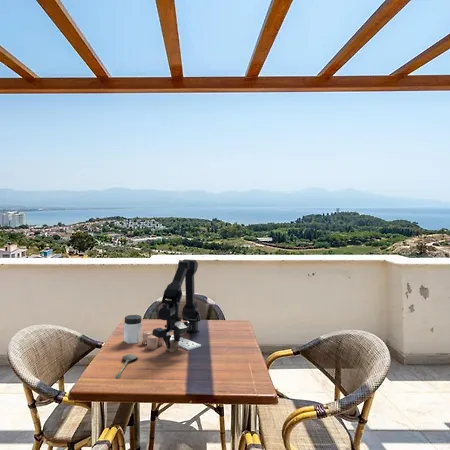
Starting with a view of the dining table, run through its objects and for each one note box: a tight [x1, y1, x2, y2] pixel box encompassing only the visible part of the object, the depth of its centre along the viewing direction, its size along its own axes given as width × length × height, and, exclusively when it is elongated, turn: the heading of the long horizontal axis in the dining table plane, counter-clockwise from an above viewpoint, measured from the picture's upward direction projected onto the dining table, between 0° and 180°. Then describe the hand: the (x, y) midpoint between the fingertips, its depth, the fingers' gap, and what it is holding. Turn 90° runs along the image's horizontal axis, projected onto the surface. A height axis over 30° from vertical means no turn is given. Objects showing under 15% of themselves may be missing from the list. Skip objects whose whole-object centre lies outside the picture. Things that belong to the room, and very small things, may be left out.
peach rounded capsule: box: [158, 338, 165, 347], centre depth 184 cm, size 5×5×5 cm
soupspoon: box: [115, 353, 139, 378], centre depth 157 cm, size 22×3×7 cm
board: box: [170, 334, 202, 351], centre depth 186 cm, size 8×21×1 cm, turn 45°
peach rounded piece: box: [141, 330, 153, 346], centre depth 185 cm, size 5×5×5 cm
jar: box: [123, 314, 143, 345], centre depth 187 cm, size 9×8×12 cm
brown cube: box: [165, 340, 179, 353], centre depth 176 cm, size 4×4×4 cm
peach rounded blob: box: [146, 335, 159, 350], centre depth 179 cm, size 5×5×5 cm
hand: (172, 347), depth 176 cm, fingers closed on brown cube, 4 cm apart
